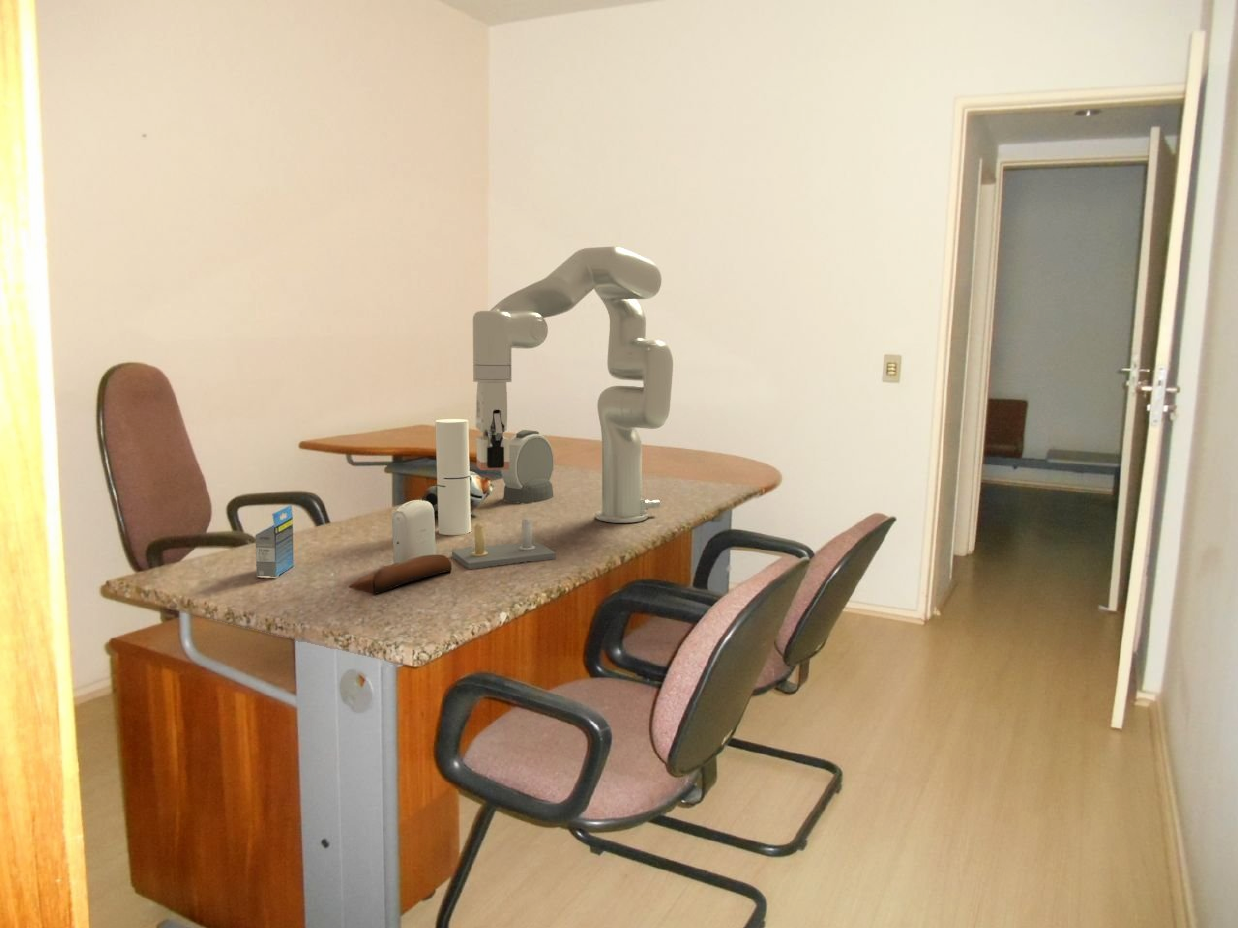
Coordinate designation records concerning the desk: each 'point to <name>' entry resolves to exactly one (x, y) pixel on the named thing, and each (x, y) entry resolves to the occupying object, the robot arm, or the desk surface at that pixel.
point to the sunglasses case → (403, 573)
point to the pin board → (502, 550)
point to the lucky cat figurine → (478, 492)
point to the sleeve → (482, 453)
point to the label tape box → (275, 545)
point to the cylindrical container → (453, 476)
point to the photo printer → (413, 531)
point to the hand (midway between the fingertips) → (492, 464)
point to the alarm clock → (529, 468)
